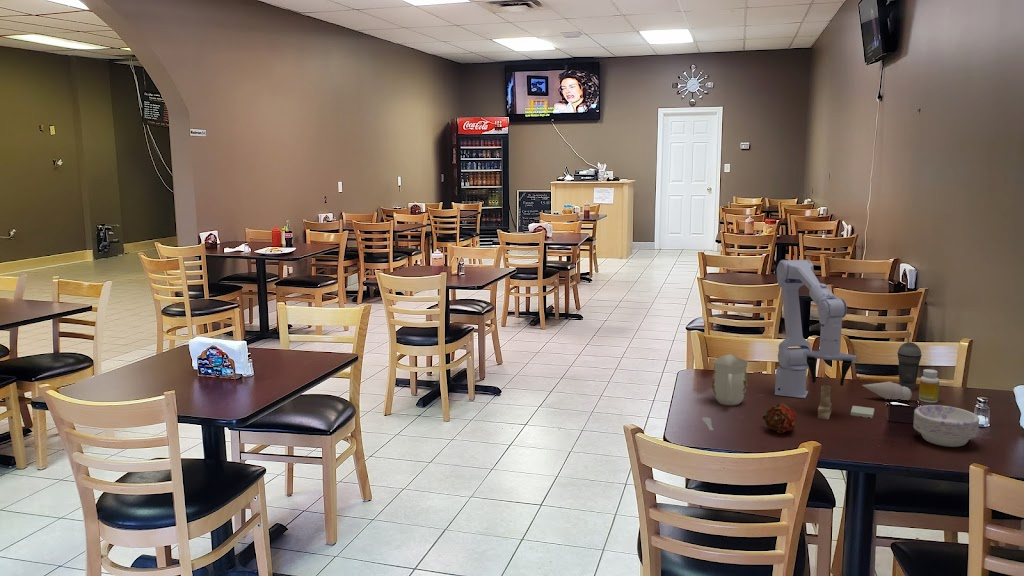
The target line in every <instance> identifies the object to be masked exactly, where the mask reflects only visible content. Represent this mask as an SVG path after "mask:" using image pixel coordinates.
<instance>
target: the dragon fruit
mask: <svg viewBox="0 0 1024 576" xmlns="http://www.w3.org/2000/svg"><path fill="white" fill-rule="evenodd" d="M761 417H762V420H763V421H764V423H765V425H766V426H767V428H769V429H770V430H772V431H775V432H776V433H779V434H784V433H786V431H787V432H792V431H794V429H795V423H796V421H797V414H796V411H795V410H794V409H793V408H792V407H789V405H787V404H786V403H784V402H781V403H779V404H775V405H772V406H771V407H769V408H768V410H766V412H765V414H763V415H762V416H761Z"/></svg>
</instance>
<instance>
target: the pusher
mask: <svg viewBox="0 0 1024 576" xmlns="http://www.w3.org/2000/svg"><path fill="white" fill-rule="evenodd" d="M831 388H832V387H831V385H829V384H828V385H827V384H821V387H820V403H819V406H818V408H817V419H821V420H829V419H830V416H831V413H832V402H831Z"/></svg>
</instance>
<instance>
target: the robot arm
mask: <svg viewBox="0 0 1024 576" xmlns="http://www.w3.org/2000/svg"><path fill="white" fill-rule="evenodd" d="M814 271H815V269H814V264H813V263H812V261H811V259H807V258H806V259H790V260H789V259H788V260H787V259H781V260H780V261H779V262H778V264H777V267H776V280H777V285H778V287H781V295H782V305H783V307H782V308H783V315H784V328H785V339H783V340H782V341H781V342H780V343H779V344H778V351H777V352H778V353H777V360H778V363H779V365H780V366H779V365H778V366H776V371H775V379H774V380H775V382H774V383H775V384H774V395H775V396H781V397H782V396H783V397H790V398H791V397H792V398H800V399H806V398H807V396H808V393H809V391H808V390H807V370H809V371H810V374H811V379H812V383H813V384H815V383H816V381H817V361H818V360H826V361H837V362H841V376H840V383H839V386H840V387H841V386H844V382H845V380H846V379H845V378H846V375H847V374H848V371H849V369H850V368H851V366H852V365H853V364H856V363H857V355H855V354H849V353H845V352H844V353H842V352H841V341H842V328H843V326H842V325H843V318H845V317H846V316H847V313H848V306H847V305H848V304H847V303H846V301H845V299H844V298H839V297H837V296H835V294H834V293H833V292H832V291H831V289H830V288H829V287H828V285H827V284H826V283H821V281H819V279H818V277H817V276H816V274H815V272H814ZM803 286H805V287H806V288H807V289H808V290H809V293H808V294H809V297H810V298H811V300H812V301H813V302H814V303H815V305H816V306H817V314H818V318H819V319H818V321H819V324H820V331H819V332H820V335H819V349H818V350H812V346H811V343H810V341H808V340H806V339H805V338H804V335H803V328H802V327H803V325H802V318H801V317H802V316H801V306H800V305H801V304H800V296H799V289H800V288H801V287H803Z"/></svg>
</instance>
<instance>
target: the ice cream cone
mask: <svg viewBox="0 0 1024 576" xmlns="http://www.w3.org/2000/svg"><path fill="white" fill-rule="evenodd" d="M861 386H862V387H864V388H865V389H866V390H869V391H870V392H872V393H873V394H876V395H877V396H879V397H881V398H883V399H884V400H886V399H889V400H890V399H901V400H907V401H909V400H910V399H911V398H912V396H913V394H912V390H910V389H909V388H907V387H902V386H901V385H900V384H899V383H897V382H892V381H883V382H876V383H875V382H874V383H869V384H861ZM901 400H900V401H901Z"/></svg>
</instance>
